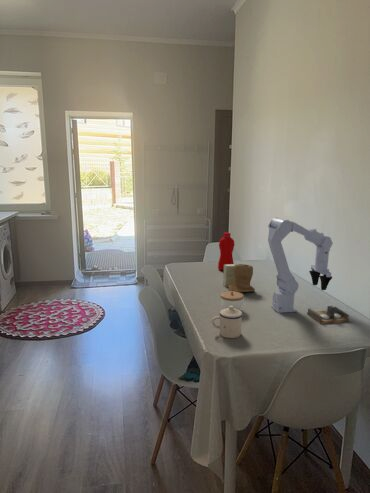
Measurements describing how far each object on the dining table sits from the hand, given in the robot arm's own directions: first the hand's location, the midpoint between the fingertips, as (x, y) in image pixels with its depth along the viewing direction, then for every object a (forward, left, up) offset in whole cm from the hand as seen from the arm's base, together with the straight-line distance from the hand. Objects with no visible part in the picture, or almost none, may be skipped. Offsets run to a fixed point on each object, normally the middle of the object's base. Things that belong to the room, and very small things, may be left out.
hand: (319, 287), depth 180 cm
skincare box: (-33, +38, -10) cm, 51 cm away
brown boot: (-30, +28, -10) cm, 42 cm away
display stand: (-4, -15, -9) cm, 18 cm away
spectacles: (-4, -15, -8) cm, 18 cm away
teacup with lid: (-54, -23, -10) cm, 59 cm away
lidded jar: (-44, +1, -10) cm, 45 cm away
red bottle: (-24, +72, -10) cm, 76 cm away
